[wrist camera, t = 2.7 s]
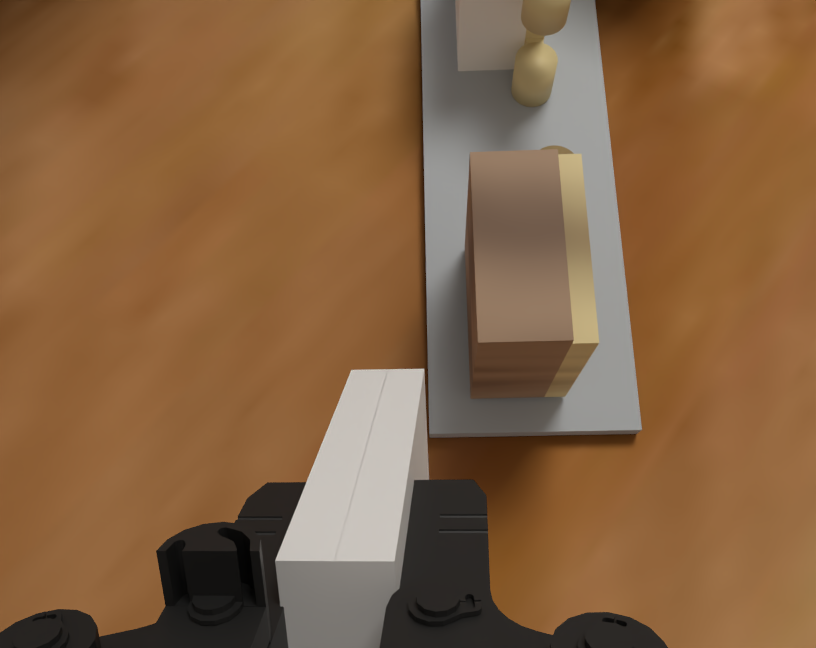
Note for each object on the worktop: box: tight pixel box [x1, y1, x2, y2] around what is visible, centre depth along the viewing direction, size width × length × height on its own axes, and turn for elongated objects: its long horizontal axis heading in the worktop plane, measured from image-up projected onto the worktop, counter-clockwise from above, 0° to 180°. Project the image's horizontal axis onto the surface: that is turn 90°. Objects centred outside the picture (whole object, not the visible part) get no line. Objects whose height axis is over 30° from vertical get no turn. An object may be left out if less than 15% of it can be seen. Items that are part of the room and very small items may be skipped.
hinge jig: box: [421, 0, 642, 438], centre depth 37 cm, size 29×10×10 cm, turn 1°
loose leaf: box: [465, 145, 599, 399], centre depth 34 cm, size 10×5×9 cm, turn 1°
